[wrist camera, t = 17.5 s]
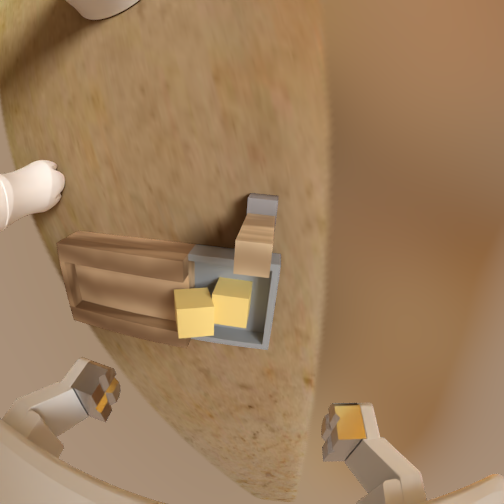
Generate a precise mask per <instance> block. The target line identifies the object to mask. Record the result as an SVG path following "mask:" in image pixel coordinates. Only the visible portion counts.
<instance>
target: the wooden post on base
mask: <svg viewBox="0 0 504 504" xmlns="http://www.w3.org/2000/svg"><path fill="white" fill-rule="evenodd" d="M277 206H278V196H274V195H265V194H256V193H250V195H249V197H248V203H247V215H246V218H245V220H244V222H243V224H242V227H241V229H240V231H239V233H238V236H237V238H236V240H235V255H234V270H233V274H240V275H248V276H256V277H264V278H269V274H270V266H271V258H272V250H273V241H274V232H275V224H276V215H277Z"/></svg>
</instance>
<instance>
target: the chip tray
mask: <svg viewBox="0 0 504 504" xmlns="http://www.w3.org/2000/svg"><path fill="white" fill-rule="evenodd" d="M234 255H235V249H233V248H225V247H216V246H208V245H199V244H196V245H195V246H194V247H193V249H192V250H191V251H190V252H189V254H188V261H195V288H206V287H208V290H209V292H210V295H211V298H212V293H213V291H214V289H215V286H216V284H217V282H218V279H219V277H223V278H230V279H238V280H246V281H253V283H252V292H251V302H250V310H249V316H248V321H247V326H246V328H240V327H233V326H226V325H220V324H214V335H213V336H203V337H192V338H191V339H196V340H202V341H208V342H214V343H220V344H227V345H234V346H241V347H248V348H256V349H265V350H268V346H269V340H270V333H271V327H272V321H273V314H274V308H275V301H276V295H277V288H278V281H279V274H280V267H281V254H276V253H272V258H271V266H270V274H269V278H264V277H256V276H248V275H240V274H233V270H234Z"/></svg>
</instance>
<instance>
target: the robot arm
mask: <svg viewBox="0 0 504 504" xmlns="http://www.w3.org/2000/svg"><path fill="white" fill-rule="evenodd" d="M65 1H67V2H68V3H69V4H71V5H72V6H73V7H74V8H75V9H76V10H77V11H78V12H79V13H80V14H81V15H82V16H83V17H84V18H86V19H90V20H99V19H104V18H108V17H111V16H113V15H116V14H118V13H120V12H122V11H124V10H125V9H127V8H129V7H130V6H132V5H133V4H135V3H136V2H138V1H139V0H65ZM115 375H116V372H115V370H114V368H111V367H108V366H105V365H102V364H100V363H97V362H94V361H91V360H89V359H86V358H83V357H81V358H79V359H78V360H77V361H76V363H75V364H74V365H73V367H72V368H71V369H70V371H69V372H68V373H67V375H66V376H65V377H64V379H63V380H62V381H61V383H60V382H56V383H54V384H51V385H49V386H47V387H44V388H42V389H40V390H37V391H35V392H32V393H30V394H27V395H25V396H23V397H20V398H18V399H16V401H15V402H14V403H13V405H12V406H11V407H10V409H9V410H8V411H7V413H6V414H5V416H4V417H3V418H2V419H1V418H0V504H166V503H163V502H159V501H156V500H152V499H149V498H146V497H143V496H140V495H137V494H135V493H132V492H129V491H126V490H124V489H121V488H119V487H116V486H114V485H111V484H109V483H107V482H104V481H102V480H100V479H98V478H95V477H93V476H91V475H89V474H87V473H85V472H83V471H81V470H79V469H77V468H75V467H73V466H71V465H70V464H68V463H66V462H64V461H62V460H60V459H59V456H60V454H61V452H62V451H63V449H64V446H63V444H62V443H61V441H60V440H59V439H58V438H57V436H59V435H61V434H62V433H64V432H65V431H67V430H69V429H70V428H72V427H73V426H75V425H76V424H78V423H79V422H81V421H83V420H84V419H86V418H87V417H88V416H90V417H93V418H96V419H98V420H101V421H104V422H106V421H107V419H108V417H109V415H110V413H111V411H112V408H111V405H112V404H114V403H116V402H117V400H118V398H119V395H120V391H121V390H120V384H119V381H118V380H117V379H116V378H115ZM321 435H322V438H323V439H324V440H325V443H324V445H323V447H322V451H323V461H345V464H346V465H347V466H348V468H349V469H350V470H351V472H352V473H353V474H354V476H355V477H356V478H357V479H358V481H359V482H360V483H361V485H362V486H363V487H364V489H365V490H366V491H367V493H368V494H367V495H366V496H364V497H363V498H361V499H360V500H359V501H358V502H357V503H356V504H504V477H503V476H501V475H499V474H492V475H489V476H487V477H485V478H483V479H481V480H479V481H477V482H474V483H472V484H470V485H468V486H465V487H463V488H460V489H458V490H456V491H453V492H450V493H448V494H445V495H442V496H439V497H436V498H434V499H430V500H427V499H426V494H425V489H424V484H423V480H422V475H421V472H420V471H419V470H417V469H416V468H415V467H414V466H413V465H412V464H411V463H410V462H409V461H408V460H407V459H406V458H405V457H403V455H402V454H400V453H399V452H398V451H397V450H396V449H395V448H394V447H393V446H392V445H391V444H390V443H389V442H388V441H387V440H386V439H385V438H380V434H379V430H378V426H377V422H376V417H375V414H374V409H373V405H372V404H371V403H332V404H331V405H330V407H329V414H327V415H325V417H324V419H323V423H322V429H321Z"/></svg>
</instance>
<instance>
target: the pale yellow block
mask: <svg viewBox="0 0 504 504" xmlns="http://www.w3.org/2000/svg"><path fill="white" fill-rule="evenodd" d="M174 303H175V318H176V324H177V331H178V337H179V339H180V338H192V337H203V336H213V335H214V309H215V306H214V304H213V301H212V298H211V295H210V292H209V290H208V287H206V288H191V289H175V290H174Z"/></svg>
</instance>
